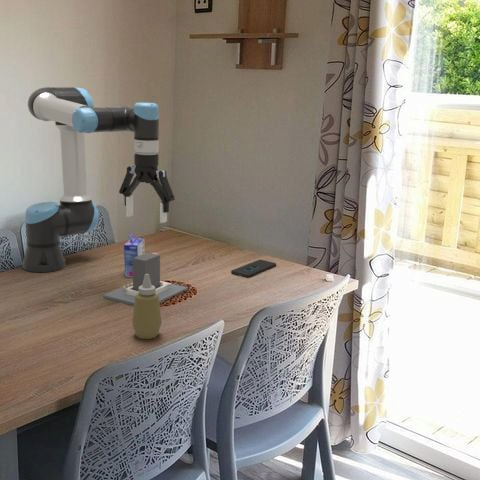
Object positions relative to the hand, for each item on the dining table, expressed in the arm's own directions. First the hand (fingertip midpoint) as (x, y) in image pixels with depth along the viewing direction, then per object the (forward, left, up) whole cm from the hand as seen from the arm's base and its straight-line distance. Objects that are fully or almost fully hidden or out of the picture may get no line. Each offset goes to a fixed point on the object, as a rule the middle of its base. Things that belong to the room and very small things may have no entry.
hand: (146, 219), depth 206 cm
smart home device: (+17, +45, -26) cm, 54 cm away
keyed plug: (0, 0, -25) cm, 25 cm away
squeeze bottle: (+21, -27, -26) cm, 43 cm away
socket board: (0, 0, -26) cm, 26 cm away
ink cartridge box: (-17, +15, -26) cm, 34 cm away
